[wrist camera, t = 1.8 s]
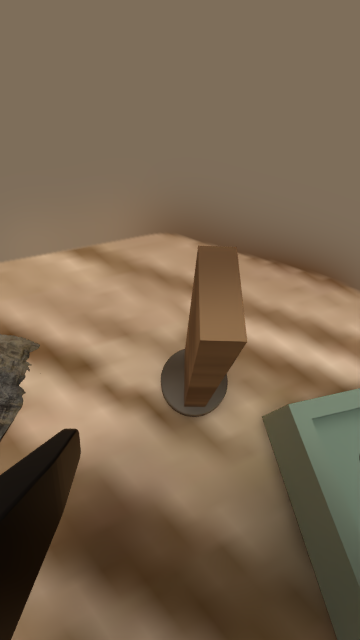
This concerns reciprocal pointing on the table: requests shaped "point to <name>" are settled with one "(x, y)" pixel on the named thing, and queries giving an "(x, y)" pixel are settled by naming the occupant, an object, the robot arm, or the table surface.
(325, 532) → the green square tray
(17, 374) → the driftwood
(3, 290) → the table surface
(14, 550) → the robot arm
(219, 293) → the brown tower block
